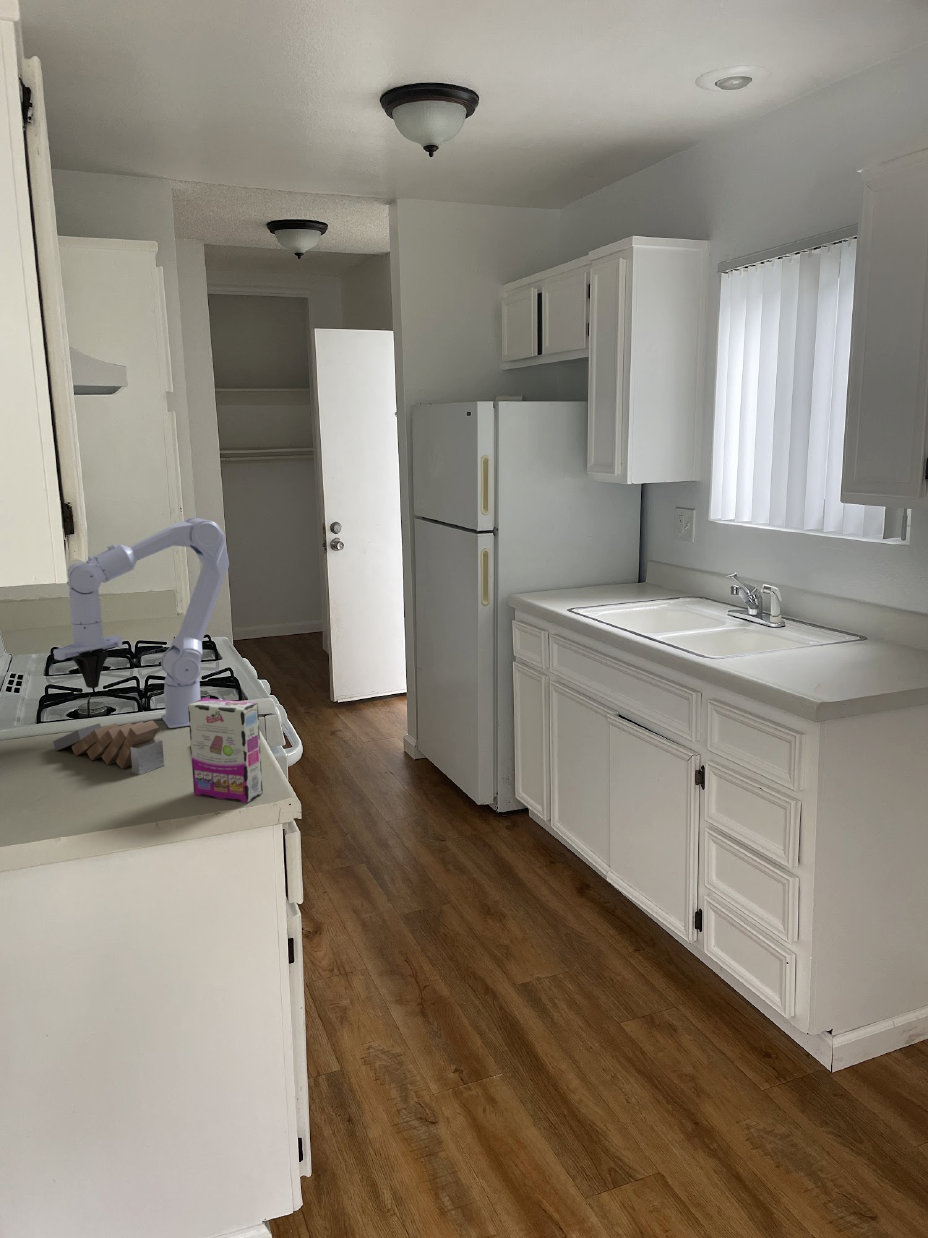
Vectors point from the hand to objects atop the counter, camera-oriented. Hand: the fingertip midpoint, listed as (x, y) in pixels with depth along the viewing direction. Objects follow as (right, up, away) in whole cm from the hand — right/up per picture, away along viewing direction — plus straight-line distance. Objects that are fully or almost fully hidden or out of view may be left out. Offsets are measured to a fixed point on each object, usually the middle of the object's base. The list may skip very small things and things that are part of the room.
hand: (92, 687), depth 190 cm
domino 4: (+9, -12, -13) cm, 20 cm away
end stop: (+17, -14, -17) cm, 28 cm away
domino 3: (+6, -12, -10) cm, 17 cm away
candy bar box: (+35, -17, -30) cm, 49 cm away
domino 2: (+2, -11, -8) cm, 14 cm away
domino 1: (-3, -11, -5) cm, 12 cm away
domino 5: (+13, -13, -15) cm, 24 cm away
